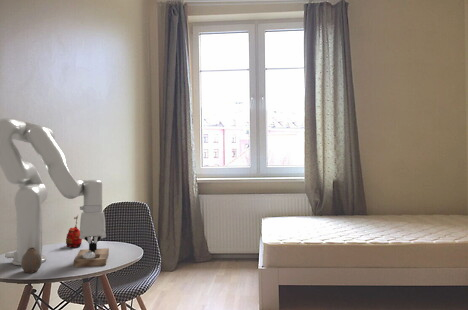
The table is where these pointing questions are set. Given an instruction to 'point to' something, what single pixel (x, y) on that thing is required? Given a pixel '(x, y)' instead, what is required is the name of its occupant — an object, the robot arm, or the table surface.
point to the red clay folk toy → (73, 237)
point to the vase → (31, 261)
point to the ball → (89, 255)
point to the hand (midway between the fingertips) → (92, 251)
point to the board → (99, 260)
